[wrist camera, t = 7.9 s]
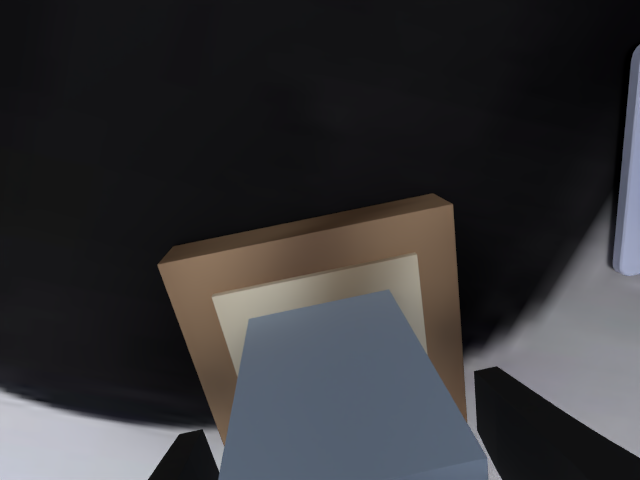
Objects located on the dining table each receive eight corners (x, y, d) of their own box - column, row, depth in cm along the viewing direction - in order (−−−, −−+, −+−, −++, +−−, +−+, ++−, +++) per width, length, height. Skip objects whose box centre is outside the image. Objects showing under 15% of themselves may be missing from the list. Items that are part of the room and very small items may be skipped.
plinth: (432, 193, 12) (455, 205, 11) (450, 398, 15) (469, 433, 14) (173, 246, 12) (155, 267, 11) (241, 443, 15) (235, 484, 14)
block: (389, 289, 12) (487, 458, 6) (404, 400, 13) (494, 619, 7) (248, 318, 11) (210, 519, 6) (280, 427, 13) (275, 669, 7)
